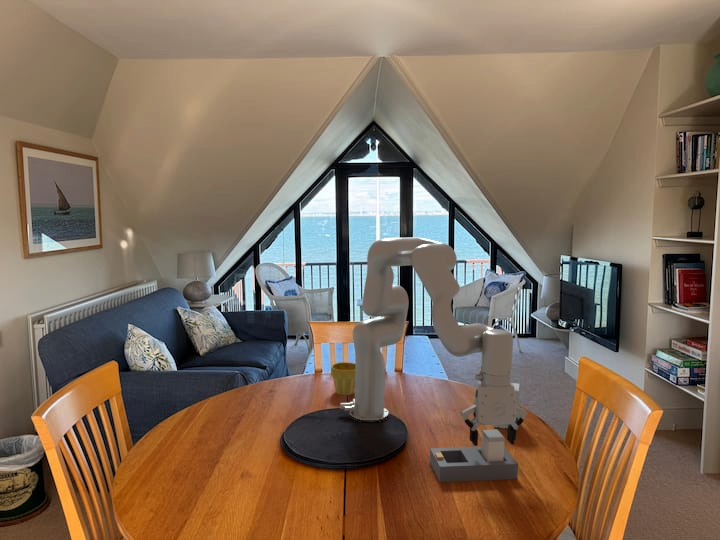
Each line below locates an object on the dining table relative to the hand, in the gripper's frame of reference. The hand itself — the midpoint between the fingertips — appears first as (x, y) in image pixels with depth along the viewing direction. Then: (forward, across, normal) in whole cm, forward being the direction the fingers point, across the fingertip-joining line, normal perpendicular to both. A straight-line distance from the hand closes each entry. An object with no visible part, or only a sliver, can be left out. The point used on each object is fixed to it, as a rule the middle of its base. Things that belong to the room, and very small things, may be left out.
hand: (492, 443), depth 136 cm
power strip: (+7, -5, 0) cm, 9 cm away
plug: (+7, 0, 0) cm, 7 cm away
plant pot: (+7, -33, +60) cm, 69 cm away
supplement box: (+8, +15, +28) cm, 33 cm away
